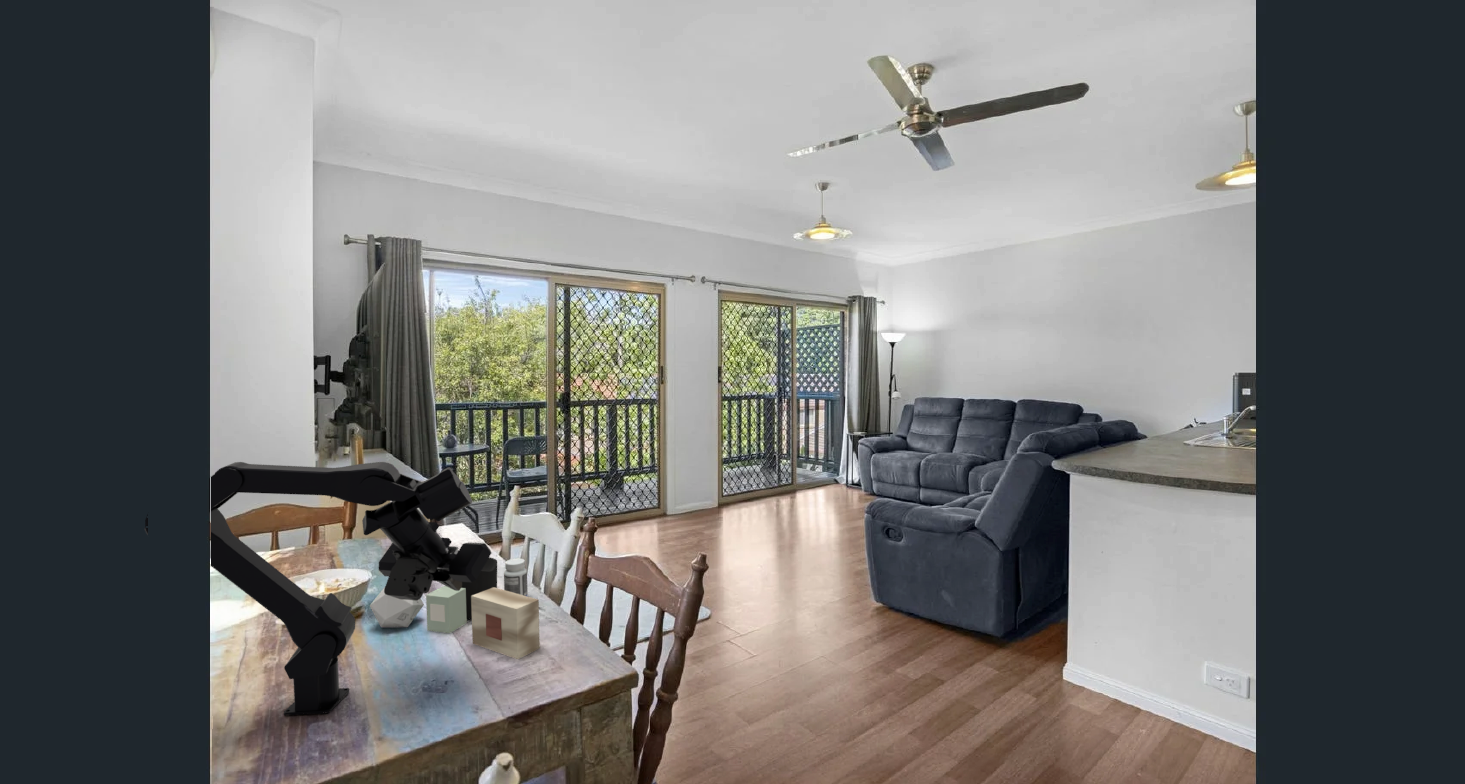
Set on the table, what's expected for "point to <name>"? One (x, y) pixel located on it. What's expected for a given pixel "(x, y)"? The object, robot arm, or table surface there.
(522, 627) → the birch block
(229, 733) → the table surface
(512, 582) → the pill bottle
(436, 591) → the sage block
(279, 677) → the table surface
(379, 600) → the die
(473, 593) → the pen holder
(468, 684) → the table surface
